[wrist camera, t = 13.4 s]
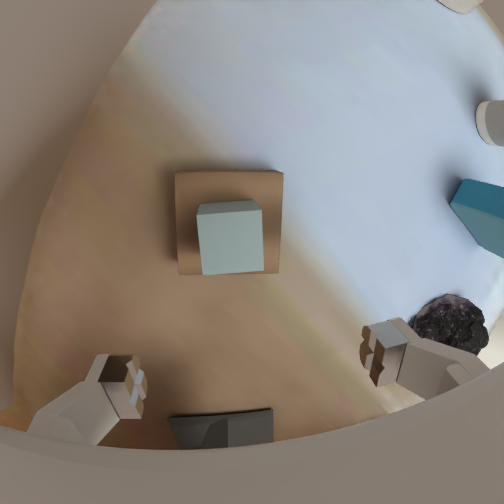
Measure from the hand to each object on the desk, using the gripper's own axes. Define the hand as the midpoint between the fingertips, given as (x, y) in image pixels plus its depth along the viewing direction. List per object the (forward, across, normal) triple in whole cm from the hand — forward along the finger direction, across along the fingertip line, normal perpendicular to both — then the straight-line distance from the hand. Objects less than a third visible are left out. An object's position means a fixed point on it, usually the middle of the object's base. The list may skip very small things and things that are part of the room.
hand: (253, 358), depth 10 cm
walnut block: (+24, 0, 0) cm, 24 cm away
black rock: (+23, -31, +21) cm, 44 cm away
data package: (+23, -35, +2) cm, 42 cm away
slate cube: (+20, 0, 0) cm, 20 cm away
